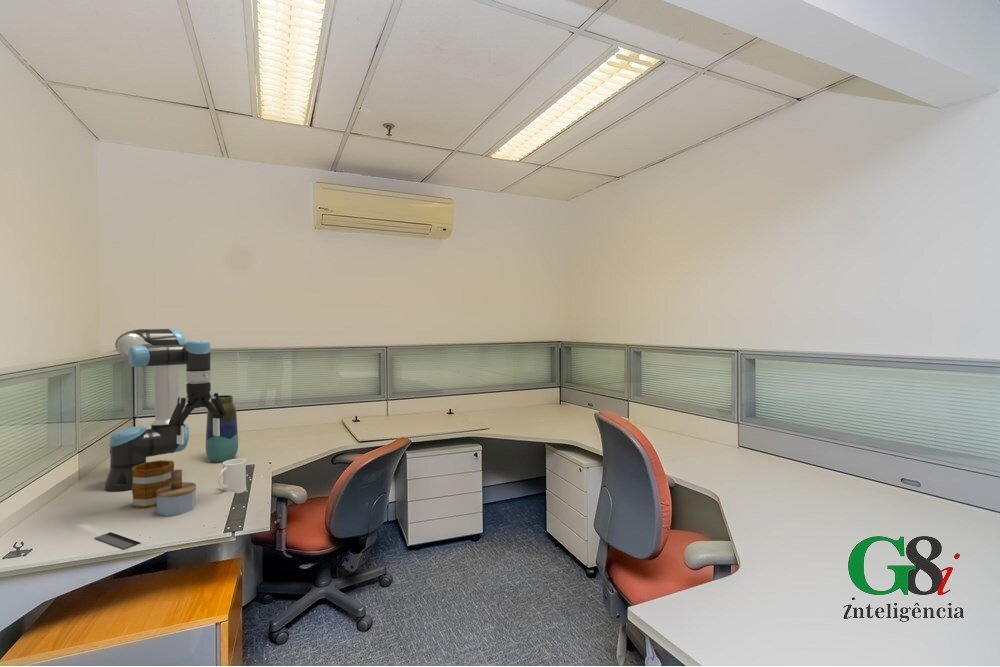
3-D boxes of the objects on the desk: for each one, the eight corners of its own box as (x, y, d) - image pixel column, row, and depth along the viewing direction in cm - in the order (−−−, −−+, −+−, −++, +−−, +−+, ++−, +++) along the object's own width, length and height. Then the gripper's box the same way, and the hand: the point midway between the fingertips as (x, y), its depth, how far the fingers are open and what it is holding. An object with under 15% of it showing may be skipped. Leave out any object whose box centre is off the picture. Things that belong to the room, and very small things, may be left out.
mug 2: (225, 499, 181) (224, 468, 181) (209, 495, 184) (209, 465, 184) (251, 489, 192) (251, 459, 192) (236, 486, 195) (236, 457, 195)
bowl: (151, 516, 165) (151, 493, 165) (182, 505, 174) (182, 484, 174) (170, 522, 160) (170, 498, 160) (201, 510, 170) (200, 488, 170)
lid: (148, 494, 164) (148, 473, 164) (183, 483, 175) (182, 464, 175) (169, 499, 159) (169, 478, 159) (203, 488, 170) (203, 468, 170)
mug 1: (167, 510, 170) (167, 469, 169) (123, 514, 166) (122, 472, 165) (186, 491, 188) (186, 454, 188) (147, 494, 185) (146, 457, 184)
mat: (94, 538, 148) (94, 537, 148) (143, 521, 160) (143, 520, 160) (123, 549, 141) (123, 548, 141) (172, 530, 154) (172, 529, 154)
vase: (203, 465, 222) (202, 399, 221) (208, 457, 235) (207, 395, 234) (236, 462, 228) (236, 397, 227) (239, 454, 240) (239, 393, 239)
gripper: (170, 387, 160) (171, 449, 160) (236, 378, 183) (236, 433, 183) (156, 385, 163) (156, 446, 163) (222, 377, 186) (223, 431, 186)
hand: (199, 439), depth 173 cm, fingers open, 13 cm apart
